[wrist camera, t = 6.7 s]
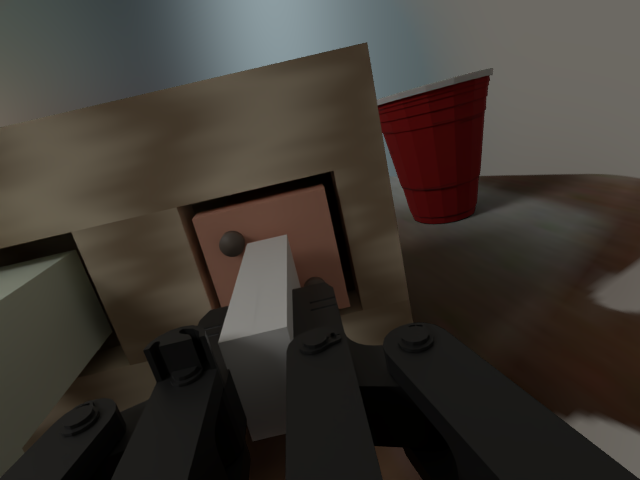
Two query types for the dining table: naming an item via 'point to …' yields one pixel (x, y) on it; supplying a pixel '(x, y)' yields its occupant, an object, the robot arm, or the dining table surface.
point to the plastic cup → (438, 144)
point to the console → (199, 200)
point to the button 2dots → (42, 342)
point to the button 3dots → (273, 235)
